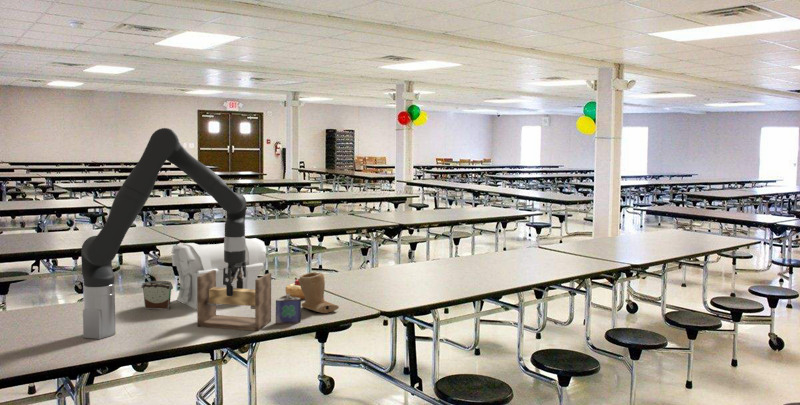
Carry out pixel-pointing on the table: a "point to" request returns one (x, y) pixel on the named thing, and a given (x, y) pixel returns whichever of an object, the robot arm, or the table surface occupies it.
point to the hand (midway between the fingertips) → (234, 293)
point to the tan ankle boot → (315, 293)
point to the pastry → (295, 290)
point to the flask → (288, 310)
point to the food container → (157, 294)
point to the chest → (212, 266)
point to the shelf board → (238, 298)
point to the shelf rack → (210, 319)
